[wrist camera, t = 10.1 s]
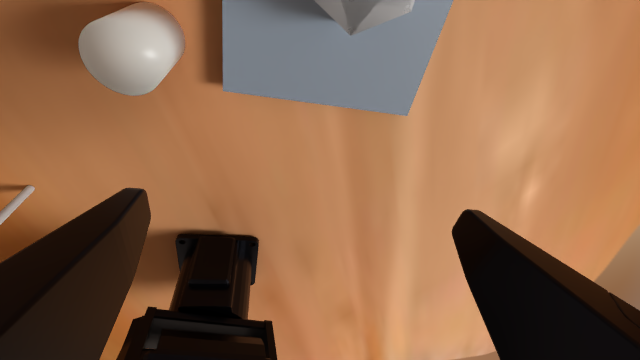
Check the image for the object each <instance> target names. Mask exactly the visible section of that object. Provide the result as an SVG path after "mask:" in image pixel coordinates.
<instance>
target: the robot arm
mask: <svg viewBox="0 0 640 360" xmlns="http://www.w3.org/2000/svg"><path fill="white" fill-rule="evenodd" d="M150 219H151V213H150V208H149V202H148V197H147V193H146V191H145V190H144V189H140V188H125V189H123V190H121V191H120V192H118V193H116V194H115V195H113V196H111V197H110V198H108V199H106V200H105V201H103V202H101V203H100V204H98V205H96V206H95V207H93V208H91V209H90V210H88V211H86V212H85V213H83V214H81V215H80V216H78V217H76V218H75V219H73V220H71V221H70V222H68V223H66V224H65V225H63V226H61V227H60V228H58V229H56V230H55V231H53V232H51V233H50V234H48V235H46V236H45V237H43V238H41V239H40V240H38V241H36V242H35V243H33V244H31V245H30V246H28V247H26V248H25V249H23V250H21V251H20V252H18V253H16V254H15V255H13V256H11V257H9V258H8V259H6V260H4V261H3V262H1V263H0V360H99V359H100V357H101V354H102V352H103V350H104V347H105V345H106V342H107V340H108V338H109V335H110V333H111V331H112V328H113V326H114V324H115V321H116V319H117V317H118V314H119V312H120V310H121V307H122V305H123V303H124V300H125V298H126V295H127V293H128V291H129V288H130V286H131V283H132V281H133V278H134V276H135V272H136V269H137V266H138V262H139V259H140V255H141V252H142V248H143V245H144V241H145V238H146V234H147V231H148V227H149V224H150ZM452 236H453V239H454V243H455V246H456V249H457V252H458V255H459V258H460V262H461V265H462V268H463V271H464V274H465V277H466V280H467V282H468V285H469V287H470V290H471V292H472V295H473V297H474V299H475V302H476V304H477V306H478V309H479V311H480V313H481V316H482V318H483V320H484V323H485V325H486V327H487V330H488V332H489V335H490V337H491V339H492V342H493V344H494V346H495V349H496V351H497V353H498V356H499V358H500V360H640V311H639V310H638V309H636V308H635V307H633V306H631V305H630V304H628V303H626V302H625V301H623V300H621V299H620V298H618V297H617V296H615V295H613V294H612V293H609V292H608V291H607V290H605V289H604V288H602V287H601V286H599V285H597V284H596V283H594V282H593V281H591V280H590V279H588V278H586V277H585V276H583V275H582V274H580V273H578V272H577V271H575V270H574V269H572V268H570V267H569V266H567V265H566V264H564V263H562V262H561V261H559V260H558V259H556V258H554V257H553V256H551V255H550V254H548V253H546V252H545V251H543V250H542V249H540V248H538V247H537V246H535V245H534V244H532V243H531V242H529V241H527V240H526V239H524V238H523V237H521V236H519V235H518V234H516V233H515V232H513V231H511V230H510V229H508V228H507V227H505V226H503V225H502V224H500V223H499V222H497V221H495V220H494V219H492V218H491V217H489V216H487V215H486V214H484V213H483V212H481V211H479V210H470V209H467V210H465V211H463V212H462V214H461V215H460V217H459V218H458V220H457V222H456V223H455V225H454V226H453V229H452ZM258 245H259V240H258V239H257V238H256V237H241V236H216V235H191V234H180V235H178V236H177V238H176V249H177V255H178V262H179V268H180V274H179V278H178V281H177V284H176V288H175V291H174V295H173V298H172V301H171V305H170V308H169V310H161V309H156V308H157V307H148V308H147V311H146V313H145V316H142V317H139V318H136V319H133V321H132V324H131V326H130V329H129V331H128V334H127V337H126V339H125V342H124V344H123V346H122V349H121V351H120V353H119V355H118V357H117V359H116V360H277V354H276V347H275V340H274V333H273V326H272V321H267V320H264V321H256V320H248V309H249V296H250V285H253V284H254V283H255V275H256V265H257V255H258ZM146 348H150V349H146Z"/></svg>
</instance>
